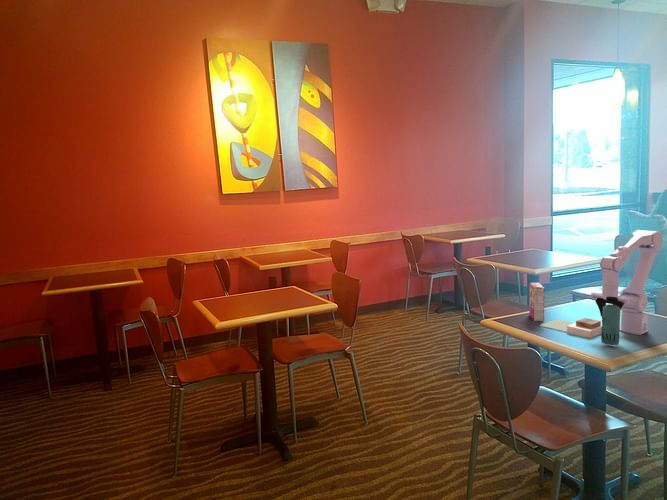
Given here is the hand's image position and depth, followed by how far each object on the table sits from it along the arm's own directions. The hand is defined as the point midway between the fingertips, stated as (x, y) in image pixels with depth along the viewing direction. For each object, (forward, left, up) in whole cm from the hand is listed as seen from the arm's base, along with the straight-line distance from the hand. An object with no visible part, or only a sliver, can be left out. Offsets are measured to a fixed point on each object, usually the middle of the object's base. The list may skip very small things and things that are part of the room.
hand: (609, 317), depth 203 cm
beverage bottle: (-6, +11, -9) cm, 15 cm away
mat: (+21, 0, -8) cm, 22 cm away
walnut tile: (+9, 0, -5) cm, 10 cm away
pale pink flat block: (+9, 0, -8) cm, 12 cm away
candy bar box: (+35, -3, -9) cm, 36 cm away
